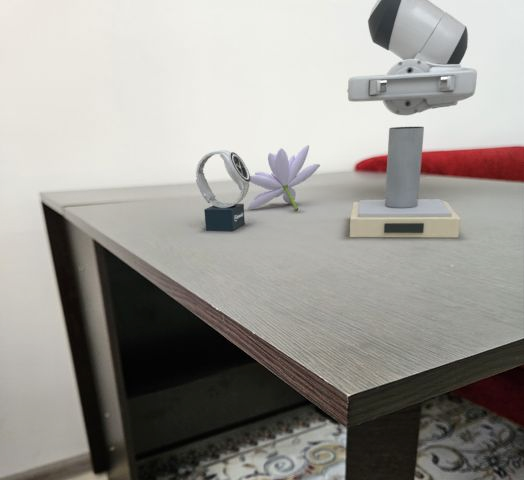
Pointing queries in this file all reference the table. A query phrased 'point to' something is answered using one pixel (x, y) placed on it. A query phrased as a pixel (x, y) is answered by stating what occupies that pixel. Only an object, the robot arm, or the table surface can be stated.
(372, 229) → the scale
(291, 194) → the water lily
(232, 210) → the watch
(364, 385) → the table surface
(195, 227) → the table surface
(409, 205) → the grey tall cylinder
